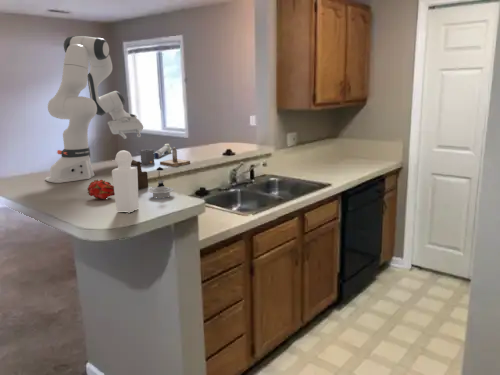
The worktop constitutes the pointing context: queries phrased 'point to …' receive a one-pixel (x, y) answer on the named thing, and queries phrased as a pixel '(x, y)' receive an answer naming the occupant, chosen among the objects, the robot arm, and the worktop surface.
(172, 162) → the post plate
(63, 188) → the worktop surface
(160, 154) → the grey dark-ended cylinder
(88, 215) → the worktop surface
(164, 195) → the grey knobbed stem base
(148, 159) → the dark grey box
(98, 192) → the dragon fruit
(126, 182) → the white bottle
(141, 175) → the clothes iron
